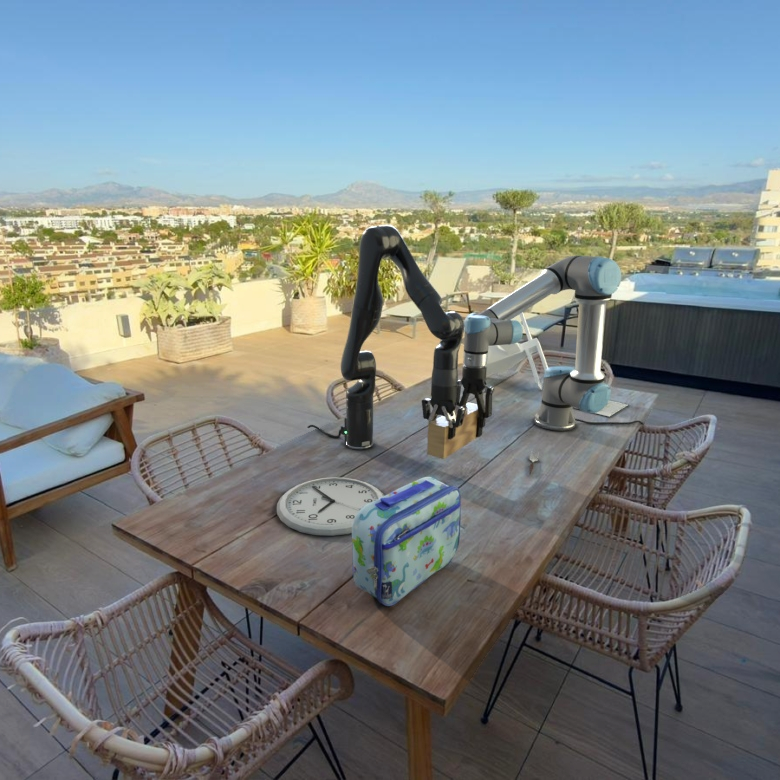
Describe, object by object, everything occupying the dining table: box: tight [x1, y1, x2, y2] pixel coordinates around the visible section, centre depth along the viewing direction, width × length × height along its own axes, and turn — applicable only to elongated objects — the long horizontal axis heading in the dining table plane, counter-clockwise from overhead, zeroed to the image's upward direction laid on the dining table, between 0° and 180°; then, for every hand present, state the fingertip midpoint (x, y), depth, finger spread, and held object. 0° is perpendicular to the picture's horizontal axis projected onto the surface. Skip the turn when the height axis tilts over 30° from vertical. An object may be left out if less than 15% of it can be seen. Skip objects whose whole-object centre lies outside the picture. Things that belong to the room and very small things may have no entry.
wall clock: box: [276, 476, 385, 537], centre depth 142 cm, size 30×2×30 cm
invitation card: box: [573, 399, 629, 418], centre depth 226 cm, size 21×1×15 cm
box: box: [426, 401, 484, 460], centre depth 163 cm, size 25×6×10 cm, turn 143°
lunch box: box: [351, 476, 462, 607], centre depth 111 cm, size 26×11×21 cm, turn 135°
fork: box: [529, 450, 539, 475], centre depth 168 cm, size 3×16×2 cm, turn 160°
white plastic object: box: [486, 312, 549, 390], centre depth 259 cm, size 37×45×31 cm
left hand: (441, 435), depth 156 cm, fingers closed on box, 5 cm apart
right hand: (470, 433), depth 171 cm, fingers closed on box, 6 cm apart
